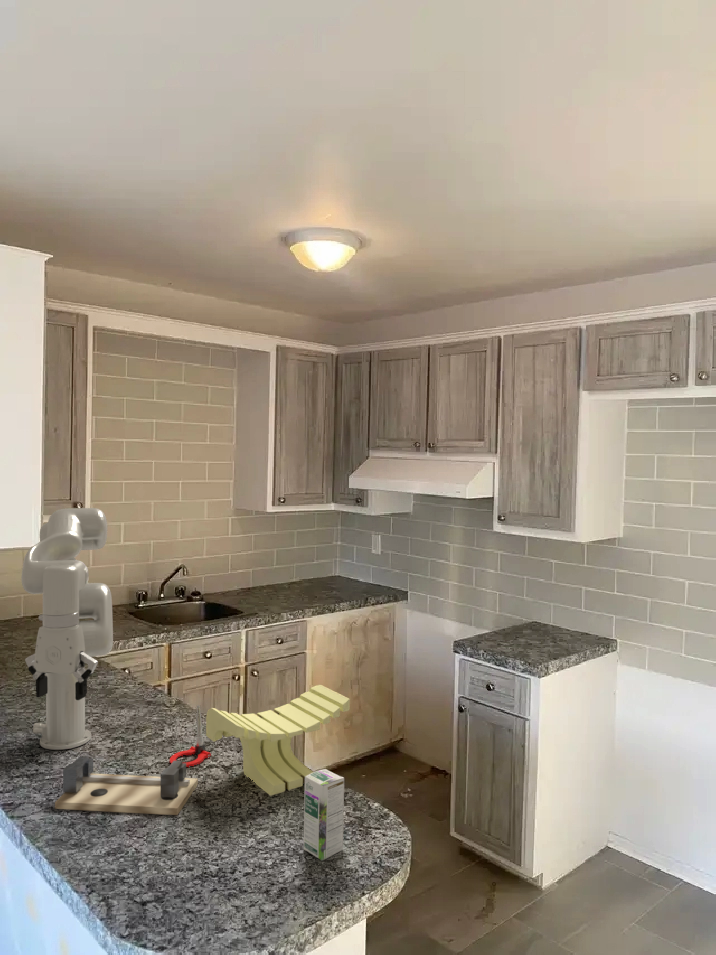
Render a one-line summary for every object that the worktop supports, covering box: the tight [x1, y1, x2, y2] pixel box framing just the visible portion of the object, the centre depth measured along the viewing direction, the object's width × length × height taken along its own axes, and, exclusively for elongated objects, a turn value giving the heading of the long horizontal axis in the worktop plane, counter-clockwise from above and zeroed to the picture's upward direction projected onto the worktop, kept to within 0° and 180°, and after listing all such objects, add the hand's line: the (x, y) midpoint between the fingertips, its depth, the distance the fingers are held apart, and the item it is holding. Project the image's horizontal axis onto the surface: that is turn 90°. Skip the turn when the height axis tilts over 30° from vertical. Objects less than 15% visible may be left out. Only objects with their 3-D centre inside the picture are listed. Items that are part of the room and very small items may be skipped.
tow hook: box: [169, 704, 212, 768], centre depth 179 cm, size 8×13×9 cm
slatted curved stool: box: [205, 684, 351, 797], centre depth 171 cm, size 30×16×18 cm, turn 126°
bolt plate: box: [54, 760, 199, 816], centre depth 160 cm, size 27×14×7 cm, turn 85°
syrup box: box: [303, 768, 345, 862], centre depth 139 cm, size 6×6×14 cm
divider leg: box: [62, 755, 94, 793], centre depth 161 cm, size 3×8×5 cm, turn 175°
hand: (61, 696), depth 160 cm, fingers open, 9 cm apart
